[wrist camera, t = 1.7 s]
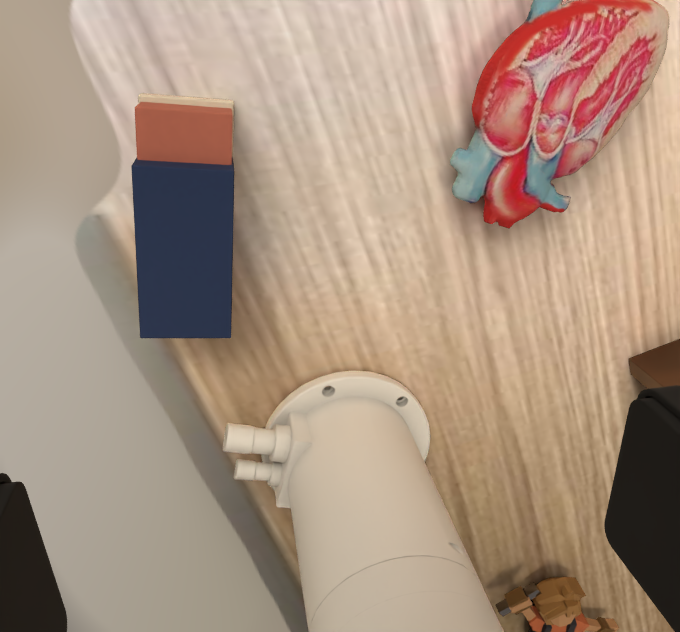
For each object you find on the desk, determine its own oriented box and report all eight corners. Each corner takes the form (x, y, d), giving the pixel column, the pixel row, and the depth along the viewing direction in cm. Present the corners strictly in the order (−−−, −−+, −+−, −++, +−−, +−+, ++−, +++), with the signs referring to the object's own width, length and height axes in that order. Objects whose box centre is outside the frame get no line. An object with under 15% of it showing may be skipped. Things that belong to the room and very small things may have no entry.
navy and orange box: (229, 310, 40) (230, 346, 35) (149, 309, 39) (140, 346, 34) (233, 100, 34) (235, 111, 30) (140, 93, 33) (128, 103, 29)
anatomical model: (663, 24, 37) (713, 24, 33) (524, 239, 41) (553, 261, 37) (544, -64, 34) (585, -76, 30) (409, 178, 38) (428, 195, 34)
